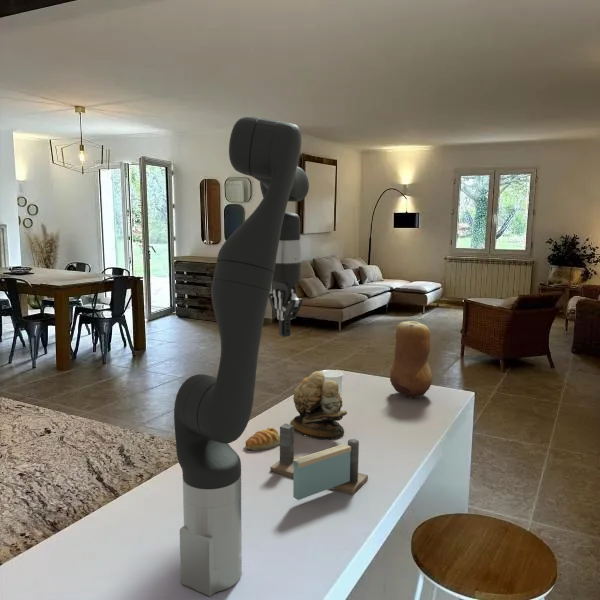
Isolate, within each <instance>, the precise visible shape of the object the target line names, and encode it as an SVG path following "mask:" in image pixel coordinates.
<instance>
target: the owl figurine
mask: <svg viewBox="0 0 600 600" xmlns="http://www.w3.org/2000/svg"><path fill="white" fill-rule="evenodd" d="M320 371H321V370H318V371H313V372H312V373H311V374H310V375H309V376H306V377H304V378H303V379H302V380H301V382H300V383H299V384H298V386H297V387H295V388H294V390H293V399H292V400H293V404H294V407H295V409H296V411H297V412H298V415H296V416H295V417H294V418H293V419H292V420H290V423H289V424H290V425H294V432H295V431H296V432H295V433H297V432H298V433H297V434H299V433H300V434H299V435H301V434H302V436H304V435H306V436H305V437H307V436H308V437H307V438H310V437H311V439H315V438H316V440H325V439H329V440H333V439H337V438H340V437H341V436H343V435H345V429H344V427H343V426H342V425H341V424H340V423H339V421H341V420H342V419H343V418H344V416H346V415H347V414H348V411H347V410H341V408H343V397H342V396H341V397H340V393H338V392H339V390H338V389H339V386H338V383H337V382H335V381H332V380H329V381H326V382H325V380H324V375H323V374H322V372H320Z"/></svg>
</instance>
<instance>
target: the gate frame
mask: <svg viewBox="0 0 600 600" xmlns="http://www.w3.org/2000/svg"><path fill="white" fill-rule="evenodd" d="M279 435H280V444H279V460H278V461H277V462H275V463H274V464H272V465H271V466H269V467H270V468H269V469H270V470H269V471H270V472H272V471H273V473H276V474H279V473H280V475H283V476H287V477H289V478H294V465H293V460H294V459H297V458H300V456H295V431H294V425H290V423H283V424H282V425H280V426H279ZM347 445H349V446H351V452H350V481H349V482H346V483H344V484H341V485H338V486H336V487H333V488H331V489H332V490H336V491H340V492H343V493H347V494H349V495H354V494H355V493H356V492H357V491H358V490H359V489H360V488H361V487H362V486H363V485H364V484H365V483H366V482H367V481H368V480H369V475H368V474H365V473H361V472H359V452H360V451H359V450H360V449H359V446H360V441H359V440H357V439H356V438H355V439H354V438H350V439H347Z"/></svg>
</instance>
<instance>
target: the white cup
mask: <svg viewBox="0 0 600 600" xmlns="http://www.w3.org/2000/svg"><path fill="white" fill-rule="evenodd" d="M319 371H320V372H322V374H323V375H324V380H325V382H326V381H329V380H332V381H335V382H337V383H338V386H339V389H338V390H339V392H338V393H340V397H341V398H342V397H343V396H342V395H343V381H344V373H343V372H342V371H340V370H335V369H325V370H323V369H322V370H319Z"/></svg>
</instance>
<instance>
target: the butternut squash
mask: <svg viewBox="0 0 600 600" xmlns="http://www.w3.org/2000/svg"><path fill="white" fill-rule="evenodd" d="M430 332H431V330H430V328H428V326H427V325H426V324H423V323H421V322H418V321H415V320H414V321H413V320H408V321H401V322H400V323H399V324H398V325H397V327H396V331H395V335H394V336H395V348H394V349H395V350H394V358H393V363H391V364H392V365H391V368H390V372H389V373H390V376H389V381H390V384H391V386H392V388H393V389H394V390H395V391H396V392H397V393H398V394H401V395H403V396H404V397H406V398H408V399H416V398H419V397H422V396H424V395H425V394H426V393H427V392H428V390H430V388H431V386H432V380H433V377H432V372H431V368H430V364H429V362H428V361H429V358H428V357H429V355H430V351H431V333H430Z"/></svg>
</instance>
